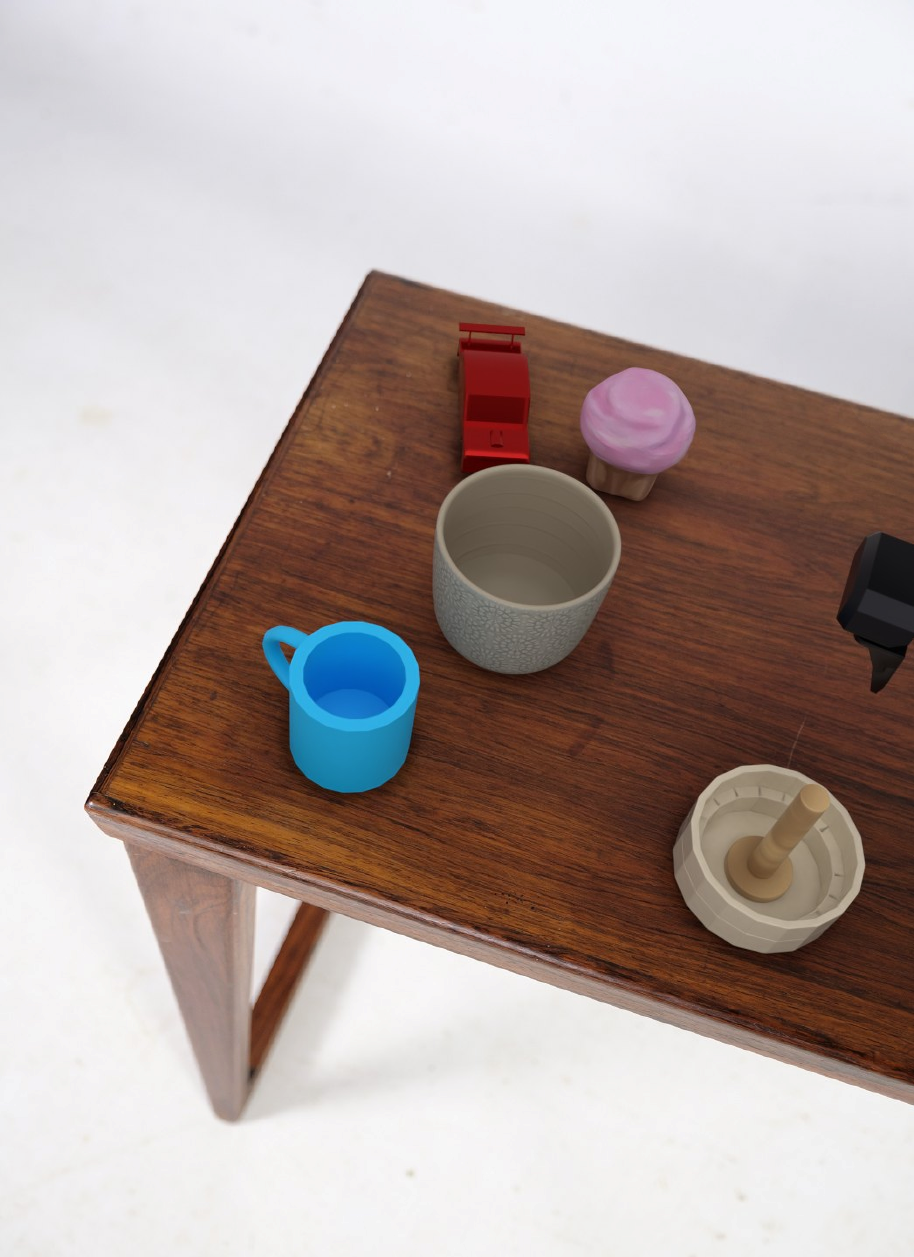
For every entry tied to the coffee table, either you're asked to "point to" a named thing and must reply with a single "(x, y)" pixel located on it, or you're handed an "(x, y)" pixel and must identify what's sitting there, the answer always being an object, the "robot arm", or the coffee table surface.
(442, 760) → the coffee table surface
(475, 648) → the planter
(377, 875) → the coffee table surface
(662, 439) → the cupcake
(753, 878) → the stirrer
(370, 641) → the mug
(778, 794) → the bowl
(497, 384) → the toy car
